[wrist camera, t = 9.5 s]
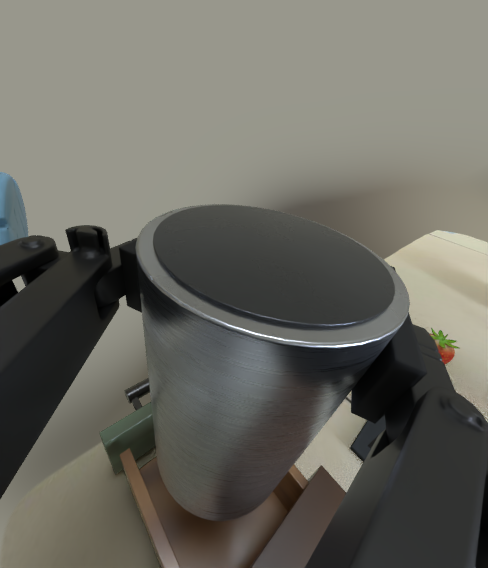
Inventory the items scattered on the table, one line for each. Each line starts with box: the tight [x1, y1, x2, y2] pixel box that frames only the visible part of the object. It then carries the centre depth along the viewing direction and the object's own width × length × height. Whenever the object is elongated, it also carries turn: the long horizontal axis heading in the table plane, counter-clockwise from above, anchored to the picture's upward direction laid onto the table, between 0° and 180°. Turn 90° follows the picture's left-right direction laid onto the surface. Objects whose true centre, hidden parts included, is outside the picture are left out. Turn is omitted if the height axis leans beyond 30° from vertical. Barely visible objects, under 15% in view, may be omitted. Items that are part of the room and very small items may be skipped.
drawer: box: [100, 378, 309, 568], centre depth 22 cm, size 20×12×7 cm, turn 42°
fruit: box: [430, 328, 458, 364], centre depth 41 cm, size 5×5×8 cm
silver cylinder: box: [135, 204, 410, 521], centre depth 12 cm, size 8×8×14 cm
